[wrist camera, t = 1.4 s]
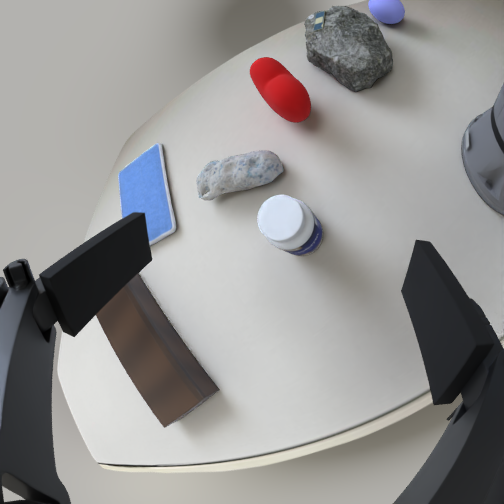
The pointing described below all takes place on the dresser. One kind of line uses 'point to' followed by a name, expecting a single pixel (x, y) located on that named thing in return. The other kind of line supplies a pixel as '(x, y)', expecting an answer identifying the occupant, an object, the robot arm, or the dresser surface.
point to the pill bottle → (290, 225)
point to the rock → (347, 46)
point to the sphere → (387, 10)
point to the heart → (281, 89)
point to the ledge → (154, 354)
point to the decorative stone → (238, 173)
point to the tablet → (148, 193)
